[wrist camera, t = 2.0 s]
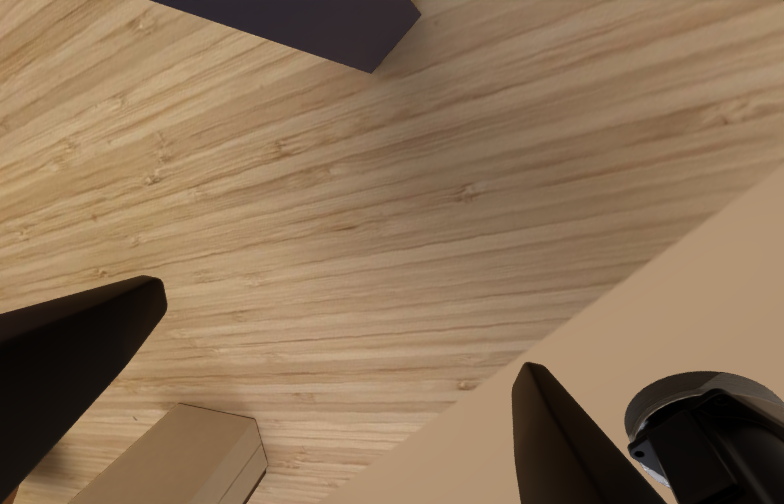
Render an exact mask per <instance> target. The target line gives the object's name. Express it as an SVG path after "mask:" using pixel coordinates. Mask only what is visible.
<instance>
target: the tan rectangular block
mask: <svg viewBox="0 0 784 504" xmlns="http://www.w3.org/2000/svg"><path fill="white" fill-rule="evenodd" d="M267 465H268V464H267V460H266V457H265V453H264V450H263V446H262V444H261V439H260V435H259V432H258V428H257V425H256V421H255V419H251V418H246V417H241V416H236V415H232V414H227V413H222V412H217V411H212V410H208V409H203V408H198V407H193V406H189V405H184V404H179V403H178V404H177V405H176V406H175V407H174V408H173V409H171V410H170V411H169V412H168V413H167V414H166V415H165V416H164V417H163V418H161V419H160V420H159V421H158V422H157V423H156V424H155V425H154V426H153V427H152V428H150V429H149V430H148V431H147V432H146V433H145V434H144V435H143V436H142V437H140V438H139V439H138V440H137V441H136V442H135V443H134V444H133V445H132V446H130V447H129V448H128V449H127V450H126V451H125V452H124V453H123V454H122V455H121V456H119V457H118V458H117V459H116V460H115V461H114V462H113V463H112V464H111V465H109V466H108V467H107V468H106V469H105V470H104V471H103V472H102V473H101V474H99V475H98V476H97V477H96V478H95V479H94V480H93V481H92V482H91V483H89V484H88V485H87V486H86V487H85V488H84V489H83V490H82V491H81V492H80V493H78V494H77V495H76V496H75V497H74V498H73V499H72V500H71V501H70V502H68V503H67V504H246V503H247V502H248V500H249V499H250V497H251V496H252V494H253V492H254V491H255V489H256V488H257V486H258V485H259V483H260V482H261V480H262V478H263V477H264V475H265V474H266V471H265V469H266V467H267Z"/></svg>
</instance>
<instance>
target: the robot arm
mask: <svg viewBox="0 0 784 504" xmlns="http://www.w3.org/2000/svg"><path fill="white" fill-rule="evenodd" d="M166 311H167V299H166V294H165V289H164V284H163V282H162V281H161V279H159V278H155V277H151V276H146V275H141V276H137V277H134V278H130V279H126V280H123V281H119V282H116V283H112V284H108V285H105V286H101V287H97V288H94V289H90V290H86V291H83V292H79V293H76V294H72V295H68V296H65V297H61V298H57V299H54V300H50V301H46V302H43V303H39V304H35V305H32V306H28V307H25V308H21V309H17V310H14V311H10V312H6V313H3V314H0V504H2V503H3V502H4V501H5V500H6V499H7V498H8V497H9V496H10V494H11V493H12V492H13V491H14V490H15V489H16V488H17V487H18V486H19V484H20V483H21V482H22V481H23V480H24V479H25V478H26V477H27V476H28V474H29V473H30V472H31V471H32V470H33V469H34V468H35V467H36V466H37V465H38V463H39V462H40V461H41V460H42V459H43V458H44V457H45V456H46V455H47V453H48V452H49V451H50V450H51V449H52V448H53V447H54V446H55V445H56V443H57V442H58V441H59V440H60V439H61V438H62V437H63V436H64V435H65V433H66V432H67V431H68V430H69V429H70V428H71V427H72V426H73V425H74V423H75V422H76V421H77V420H78V419H79V418H80V417H81V416H82V415H83V413H84V412H85V411H86V410H87V409H88V408H89V407H90V406H91V405H92V403H93V402H94V401H95V400H96V399H97V398H98V397H99V396H100V395H101V393H102V392H103V391H104V390H105V389H106V388H107V387H108V386H109V385H110V384H111V382H112V381H113V380H114V379H115V378H116V377H117V376H118V375H119V373H120V372H121V371H122V370H123V369H124V368H125V366H126V365H127V364H128V363H129V361H130V360H131V359H132V358H133V356H134V355H135V354H136V352H137V351H138V350H139V348H140V347H141V346H142V344H143V343H144V341H145V340H146V339H147V337H148V336H149V335H150V333H151V332H152V331H153V329H154V328H155V327H156V325H157V324H158V323H159V321H160V320H161V319H162V317H163V316H164V315H165V313H166ZM720 397H722V398H721V399H717V398H720ZM512 415H513V436H514V437H513V438H514V457H515V466H516V473H517V480H518V487H519V494H520V500H521V504H667V503H666V502H665V501H664V500H663V498H662V497H661V496H660V495H659V494H658V493H657V492H656V491H655V490H654V488H653V487H652V486H651V485H650V484H649V483H648V482H647V480H646V479H645V478H644V477H643V476H642V475H641V474H640V473H639V472H638V470H637V469H636V468H635V467H634V466H633V465H632V464H631V462H630V461H629V460H628V459H627V458H626V457H625V456H624V455H623V454H622V453H621V451H620V450H619V449H618V448H617V447H616V446H615V445H614V443H613V442H612V441H611V440H610V439H609V438H608V437H607V436H606V434H605V433H604V432H603V431H602V430H601V429H600V428H599V427H598V425H597V424H596V423H595V422H594V421H593V420H592V419H591V418H590V416H589V415H588V414H587V413H586V412H585V411H584V410H583V409H582V407H581V406H580V405H579V404H578V403H577V402H576V401H575V400H574V398H573V397H572V396H571V395H570V394H569V393H568V392H567V391H566V389H565V388H564V387H563V386H562V385H561V384H560V383H559V382H558V380H557V379H556V378H555V377H554V376H553V375H552V374H551V373H550V372H549V370H548V369H547V368H546V367H545V366H543V365H540V364H536V363H531V362H526V363H524V365H523V366H522V368H521V370H520V372H519V374H518V376H517V378H516V380H515V382H514V384H513V387H512ZM627 448H628V451H629V453H630V456H631V457H632V458H633V459H635V460H637V461H638V462H640V463H641V464H643V465H645V466H646V467H648V468H649V469H651V470H653V471H654V472H656V473H657V474H659V475H661V476H662V477H664V478H665V479H666V480H667V482H668V484H669V486H670V488H671V490H672V492H673V494H674V496H675V499H676V501H677V503H678V504H784V425H783V424H781V423H779V422H778V421H776V420H774V419H773V418H771V417H769V416H768V415H766V414H765V413H763V412H761V411H760V410H758V409H756V408H755V407H753V406H751V405H750V404H748V403H746V402H745V401H743V400H741V399H740V398H738V397H736V396H735V395H733V394H731V393H730V392H728V391H726V390H724V389H722V388H713V389H711V390H708V391H707V392H706V393H704V394H703V395H701V396H700V397H698V398H697V399H695V400H694V401H692V402H691V403H689V404H688V405H686V406H685V407H683V408H682V409H680V410H679V411H677V412H676V413H674V414H673V415H671V416H670V417H668V418H667V419H665V420H664V421H662V422H661V423H659V424H658V425H657V426H655V427H654V428H652V429H651V430H649V431H648V432H646V433H645V434H643V435H642V436H640V437H639V438H637V439H636V440H634V441H633V442H631V443H630V444H629V445H628V447H627Z"/></svg>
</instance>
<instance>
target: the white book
mask: <svg viewBox="0 0 784 504" xmlns="http://www.w3.org/2000/svg"><path fill="white" fill-rule="evenodd" d="M151 1H154V2H157V3H160V4H163V5H166V6H169V7H172V8H175V9H178V10H181V11H184V12H187V13H190V14H193V15H196V16H199V17H202V18H205V19H208V20H211V21H214V22H217V23H220V24H223V25H226V26H229V27H232V28H235V29H238V30H241V31H244V32H247V33H250V34H253V35H256V36H259V37H262V38H265V39H268V40H271V41H274V42H277V43H280V44H283V45H286V46H289V47H292V48H295V49H298V50H301V51H304V52H307V53H310V54H313V55H316V56H319V57H322V58H325V59H328V60H331V61H334V62H337V63H340V64H343V65H346V66H349V67H352V68H355V69H358V70H361V71H364V72H367V73H370V74H371V73H372V72H373V71H374V70H375V68H376V67H377V66H378V65H379V64H380V63H381V61H382V60H383V59H384V58H385V57H386V56H387V54H388V53H389V52H390V51H391V50H392V49H393V48H394V46H395V45H396V44H397V43H398V42H399V41H400V39H401V38H402V37H403V36H404V35H405V34H406V32H407V31H408V30H409V29H410V28H411V27H412V25H413V24H414V23H415V22H416V21H417V20H418V18H419V17H420V16H421V13H420V12H419V11H418V9H417V8H416V7H415V5H414V4H413V3H412V1H411V0H151Z"/></svg>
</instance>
